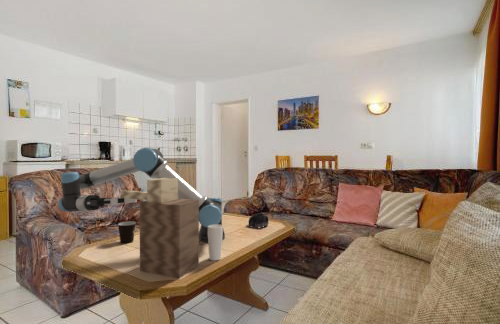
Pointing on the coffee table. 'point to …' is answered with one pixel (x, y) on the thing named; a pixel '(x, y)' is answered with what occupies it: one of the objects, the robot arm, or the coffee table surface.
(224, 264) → the coffee table surface
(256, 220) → the black rounded lump
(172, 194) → the stepped beige block
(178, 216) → the stand
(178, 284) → the coffee table surface
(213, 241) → the drinking glass
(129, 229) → the coffee mug
